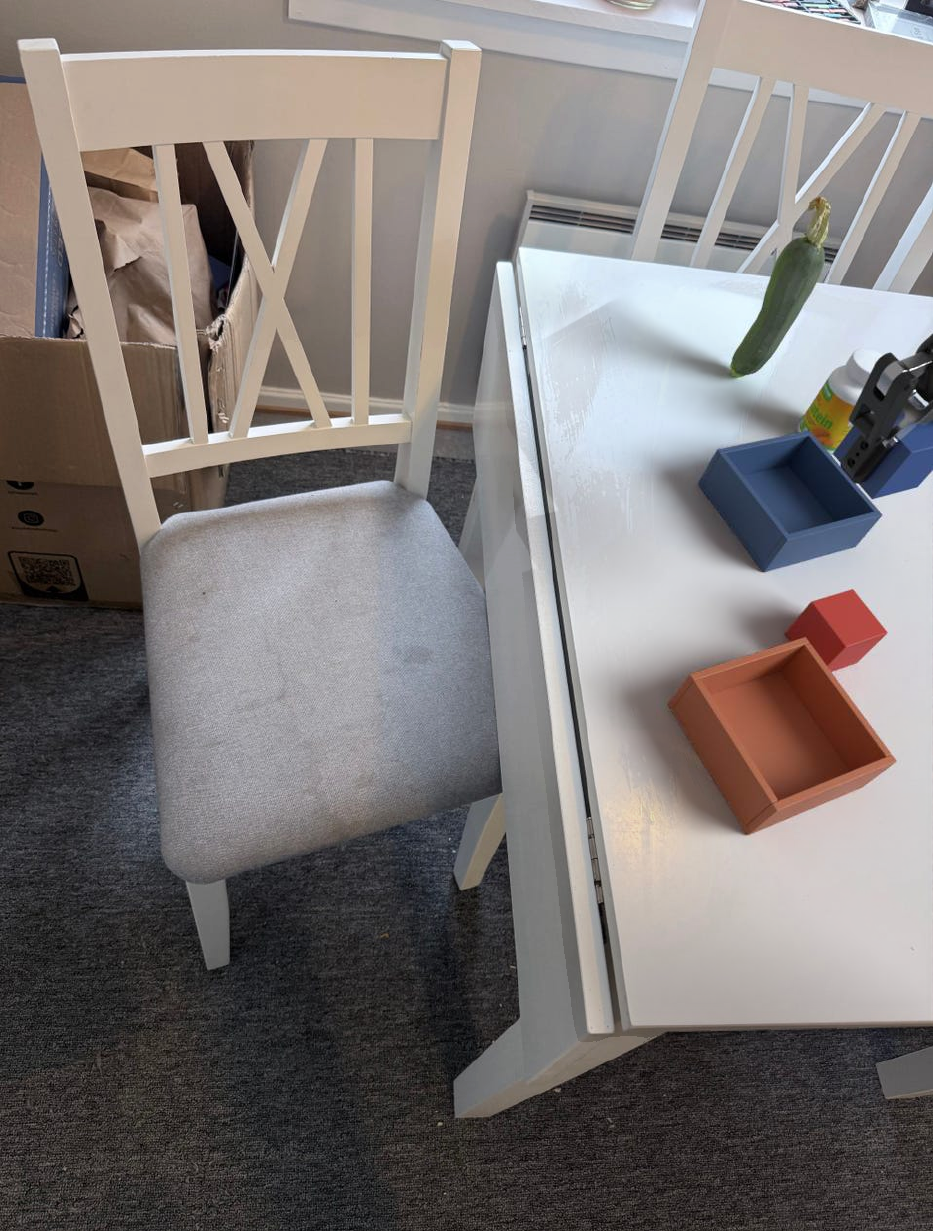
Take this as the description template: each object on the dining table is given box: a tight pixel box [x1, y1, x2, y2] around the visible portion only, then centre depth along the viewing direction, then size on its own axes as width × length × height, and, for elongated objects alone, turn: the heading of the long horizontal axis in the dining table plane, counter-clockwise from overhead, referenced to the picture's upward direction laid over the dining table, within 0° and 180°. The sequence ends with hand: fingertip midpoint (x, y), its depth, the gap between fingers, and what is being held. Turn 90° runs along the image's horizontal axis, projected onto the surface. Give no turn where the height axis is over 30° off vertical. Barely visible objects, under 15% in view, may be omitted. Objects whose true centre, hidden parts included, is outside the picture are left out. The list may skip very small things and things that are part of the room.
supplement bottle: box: [797, 348, 884, 455], centre depth 84 cm, size 5×5×10 cm
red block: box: [784, 588, 889, 673], centre depth 69 cm, size 5×5×5 cm
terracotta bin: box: [667, 637, 898, 836], centre depth 62 cm, size 11×11×4 cm
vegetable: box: [729, 196, 832, 379], centre depth 83 cm, size 4×4×20 cm
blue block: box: [832, 395, 933, 500], centre depth 59 cm, size 5×5×5 cm
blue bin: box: [697, 431, 883, 573], centre depth 78 cm, size 11×11×4 cm
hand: (878, 467), depth 61 cm, fingers closed on blue block, 4 cm apart
